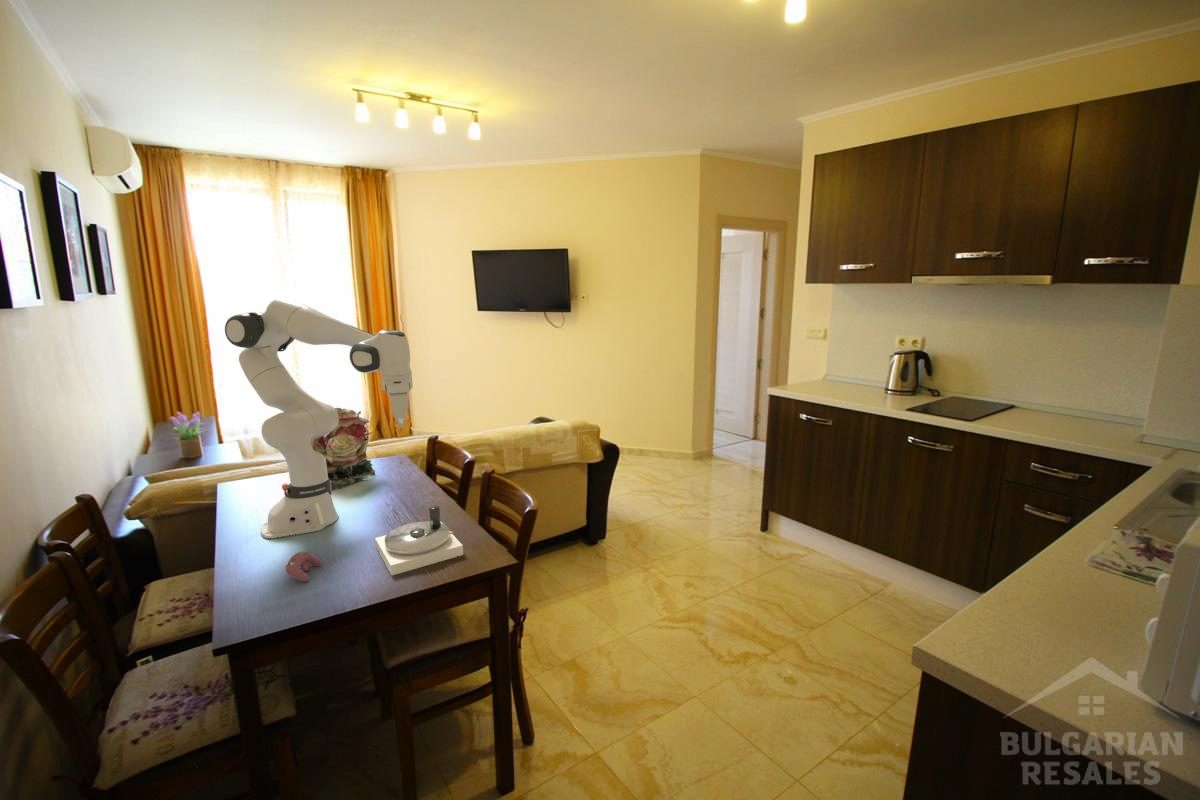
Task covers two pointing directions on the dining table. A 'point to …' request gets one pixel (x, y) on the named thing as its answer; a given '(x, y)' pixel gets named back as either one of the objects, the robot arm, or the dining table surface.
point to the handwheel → (418, 536)
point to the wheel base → (411, 562)
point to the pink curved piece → (301, 565)
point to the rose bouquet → (346, 450)
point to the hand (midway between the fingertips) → (401, 427)
